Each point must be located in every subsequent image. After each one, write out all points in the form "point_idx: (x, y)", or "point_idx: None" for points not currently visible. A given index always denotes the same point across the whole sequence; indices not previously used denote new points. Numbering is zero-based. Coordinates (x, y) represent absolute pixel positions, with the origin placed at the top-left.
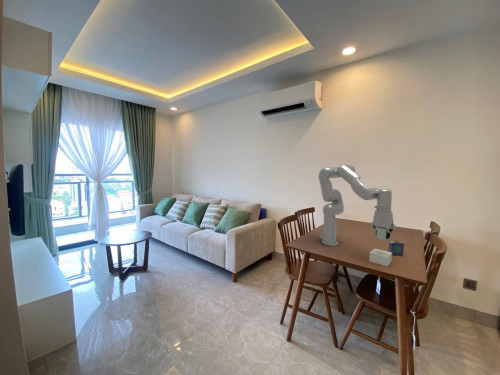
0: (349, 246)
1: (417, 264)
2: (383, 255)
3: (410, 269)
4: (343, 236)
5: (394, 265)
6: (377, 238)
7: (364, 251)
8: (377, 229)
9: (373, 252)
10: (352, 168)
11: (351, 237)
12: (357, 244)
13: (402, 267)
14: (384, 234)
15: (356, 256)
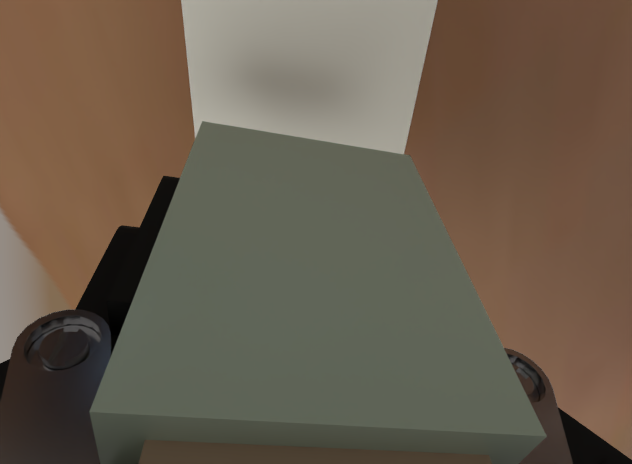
0: (601, 247)
1: (43, 221)
2: (250, 4)
3: (15, 56)
4: (622, 397)
5: (161, 51)
6: (388, 152)
7: (468, 219)
8: (482, 349)
9: (390, 32)
10: None
11: (561, 408)
12: (524, 323)
13: (87, 53)
14: (205, 216)
15: (554, 21)
